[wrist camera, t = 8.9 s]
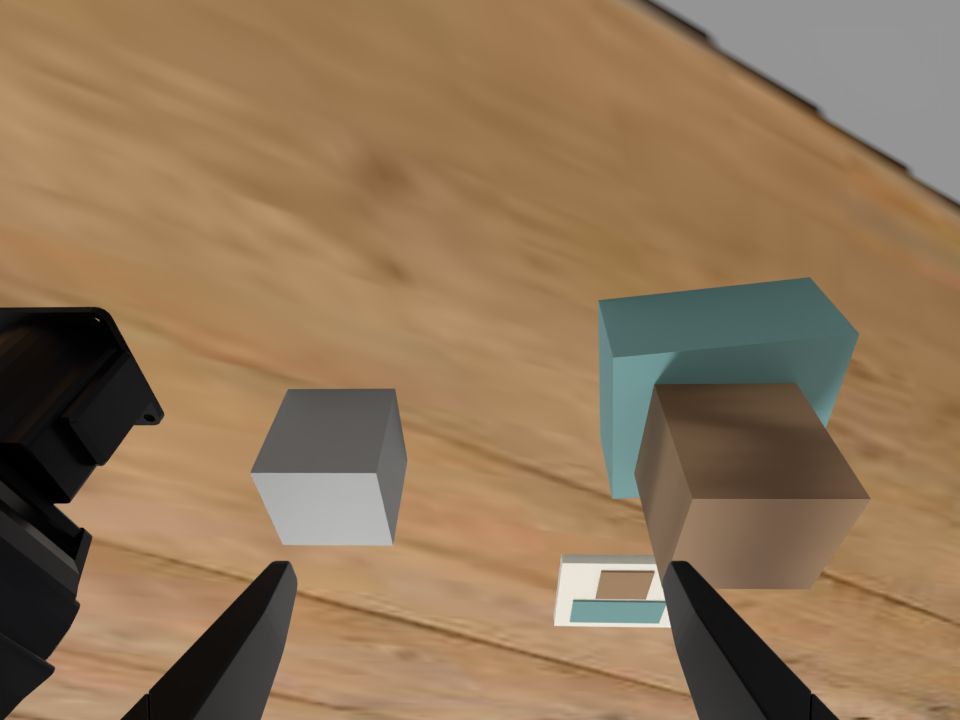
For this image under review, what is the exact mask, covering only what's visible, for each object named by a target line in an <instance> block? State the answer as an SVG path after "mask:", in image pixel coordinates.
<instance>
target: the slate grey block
mask: <svg viewBox="0 0 960 720" xmlns="http://www.w3.org/2000/svg"><path fill="white" fill-rule="evenodd" d="M407 461H408V460H407V454H406V449H405V443H404V437H403V431H402V426H401V420H400V414H399V408H398V402H397V397H396V391H395V389H288V390H287V392H286V394H285V396H284V399H283V401H282V403H281V405H280V408H279V410H278V412H277V414H276V416H275V419H274V421H273V423H272V425H271V427H270V430H269V432H268V434H267V436H266V439H265V441H264V443H263V445H262V447H261V450H260V452H259V454H258V456H257V458H256V461H255V463H254V465H253V467H252V469H251V472H250V474H251V476H252V479H253V481H254V483H255V485H256V487H257V489H258V492H259V494H260V496H261V498H262V500H263V503H264V505H265V507H266V509H267V511H268V514H269V516H270V518H271V520H272V522H273V524H274V527H275V529H276V531H277V533H278V535H279V538H280V540H281V542H282V544H283V545H362V546H393V543H394V537H395V531H396V526H397V520H398V514H399V508H400V502H401V496H402V490H403V485H404V479H405V473H406V467H407Z"/></svg>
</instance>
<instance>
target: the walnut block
mask: <svg viewBox="0 0 960 720" xmlns="http://www.w3.org/2000/svg"><path fill="white" fill-rule="evenodd" d="M634 476H635V480H636V484H637V488H638V492H639V496H640V500H641V504H642V508H643V512H644V517H645V521H646V525H647V529H648V533H649V537H650V541H651V545H652V549H653V553H654V557H655V561H656V566H657V570H658V574H659V578H660V582H661V586H662V581H663V577H664V574H665V572H666V569H667V567H668V564H669V562H670V561H687V562H689V563H690V564H691V565H692V566H693V567H694V568H695V569H696V570H697V571H698V573H699V574H700V575H701V576H702V577H703V578H704V579H705V580H706V581H707V582H708V583H709V584H710V585H711V586H712V587H713V588H714V589H806V590H810V589H811V587H812V586H813V584H814V583H815V582H816V580H817V579H818V577H819V576H820V574H821V573H822V571H823V570H824V568H825V567H826V565H827V564H828V562H829V561H830V559H831V558H832V556H833V555H834V553H835V552H836V550H837V549H838V547H839V546H840V544H841V543H842V541H843V540H844V538H845V537H846V536H847V534H848V533H849V531H850V530H851V528H852V527H853V525H854V524H855V522H856V521H857V519H858V518H859V516H860V515H861V513H862V512H863V510H864V509H865V507H866V506H867V504H868V503H869V501H870V500H871V498H870V497H869V495H868V494H867V492H866V491H865V489H864V487H863V486H862V484H861V483H860V481H859V480H858V478H857V477H856V475H855V474H854V472H853V470H852V469H851V467H850V466H849V464H848V463H847V461H846V460H845V458H844V456H843V455H842V453H841V452H840V450H839V449H838V447H837V446H836V444H835V442H834V441H833V439H832V438H831V436H830V435H829V433H828V432H827V430H826V428H825V427H824V425H823V424H822V422H821V421H820V419H819V418H818V416H817V414H816V413H815V411H814V410H813V408H812V407H811V405H810V404H809V402H808V401H807V399H806V397H805V396H804V394H803V393H802V391H801V390H800V388H799V387H798V385H797V383H754V384H654V387H653V392H652V396H651V401H650V405H649V410H648V414H647V418H646V423H645V427H644V432H643V436H642V441H641V445H640V450H639V454H638V459H637V463H636V468H635V472H634ZM662 588H663V586H662Z"/></svg>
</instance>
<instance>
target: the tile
mask: <svg viewBox="0 0 960 720" xmlns="http://www.w3.org/2000/svg"><path fill="white" fill-rule="evenodd" d="M554 626H589V627H658V628H671V625H670V621H669V616H668V611H667V607H666V602H665V597H664V593H663V588H662V586H661V582H660V578H659V574H658V570H657V566H656V561H655V557H654V555H593V554H561V561H560V569H559V577H558V585H557V594H556V602H555V610H554Z"/></svg>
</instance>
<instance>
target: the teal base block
mask: <svg viewBox="0 0 960 720" xmlns="http://www.w3.org/2000/svg"><path fill="white" fill-rule="evenodd" d="M598 324H599V393H600V439H601V444H602V449H603V454H604V459H605V465H606V470H607V475H608V480H609V485H610V490H611V495H612V499H621V498H635V497H640V496H639V492H638V488H637V484H636V480H635V476H634V472H635V468H636V463H637V459H638V454H639V450H640V445H641V441H642V436H643V432H644V427H645V423H646V418H647V414H648V410H649V405H650V401H651V396H652V392H653V387H654V384H754V383H797V385H798V387H799V388H800V390H801V391H802V393H803V394H804V396H805V397H806V399H807V401H808V402H809V404H810V405H811V407H812V408H813V410H814V411H815V413H816V414H817V416H818V418H819V419H820V421H821V422H822V424H823V425H824V427H825V428H826V426H827V424H828V421H829V418H830V415H831V412H832V410H833V407H834V404H835V401H836V398H837V396H838V393H839V390H840V387H841V384H842V382H843V379H844V376H845V373H846V370H847V368H848V365H849V362H850V359H851V356H852V354H853V351H854V348H855V345H856V342H857V340H858V337H859V333H858V332H857V331H856V329H855V328H854V327H853V326H852V325H851V324H850V323H849V321H848V320H847V319H846V318H845V317H844V316H843V315H842V313H841V312H840V311H839V310H838V309H837V308H836V306H835V305H834V304H833V303H832V302H831V301H830V300H829V298H828V297H827V296H826V295H825V294H824V293H823V291H822V290H821V289H820V288H819V287H818V286H817V285H816V283H815V282H814V281H813V280H812V279H811V278H810V277H807V278H798V279H789V280H780V281H770V282H761V283H752V284H743V285H734V286H724V287H715V288H706V289H697V290H687V291H678V292H669V293H660V294H651V295H641V296H632V297H623V298H614V299H605V300H598Z"/></svg>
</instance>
